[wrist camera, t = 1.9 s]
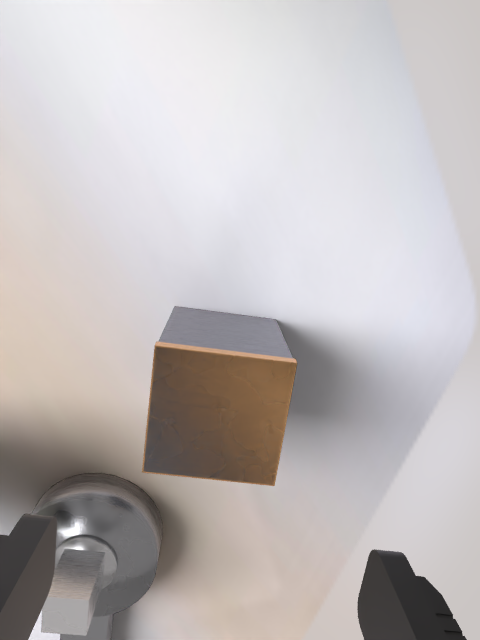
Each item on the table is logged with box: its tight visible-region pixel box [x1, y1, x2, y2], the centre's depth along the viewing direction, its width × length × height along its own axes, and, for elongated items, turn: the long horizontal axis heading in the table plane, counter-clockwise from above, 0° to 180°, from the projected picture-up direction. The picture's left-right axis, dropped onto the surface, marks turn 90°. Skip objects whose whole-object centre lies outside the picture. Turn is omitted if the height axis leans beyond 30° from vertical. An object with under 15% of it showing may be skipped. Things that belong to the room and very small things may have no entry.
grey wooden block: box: [142, 306, 297, 486], centre depth 22 cm, size 6×6×7 cm
